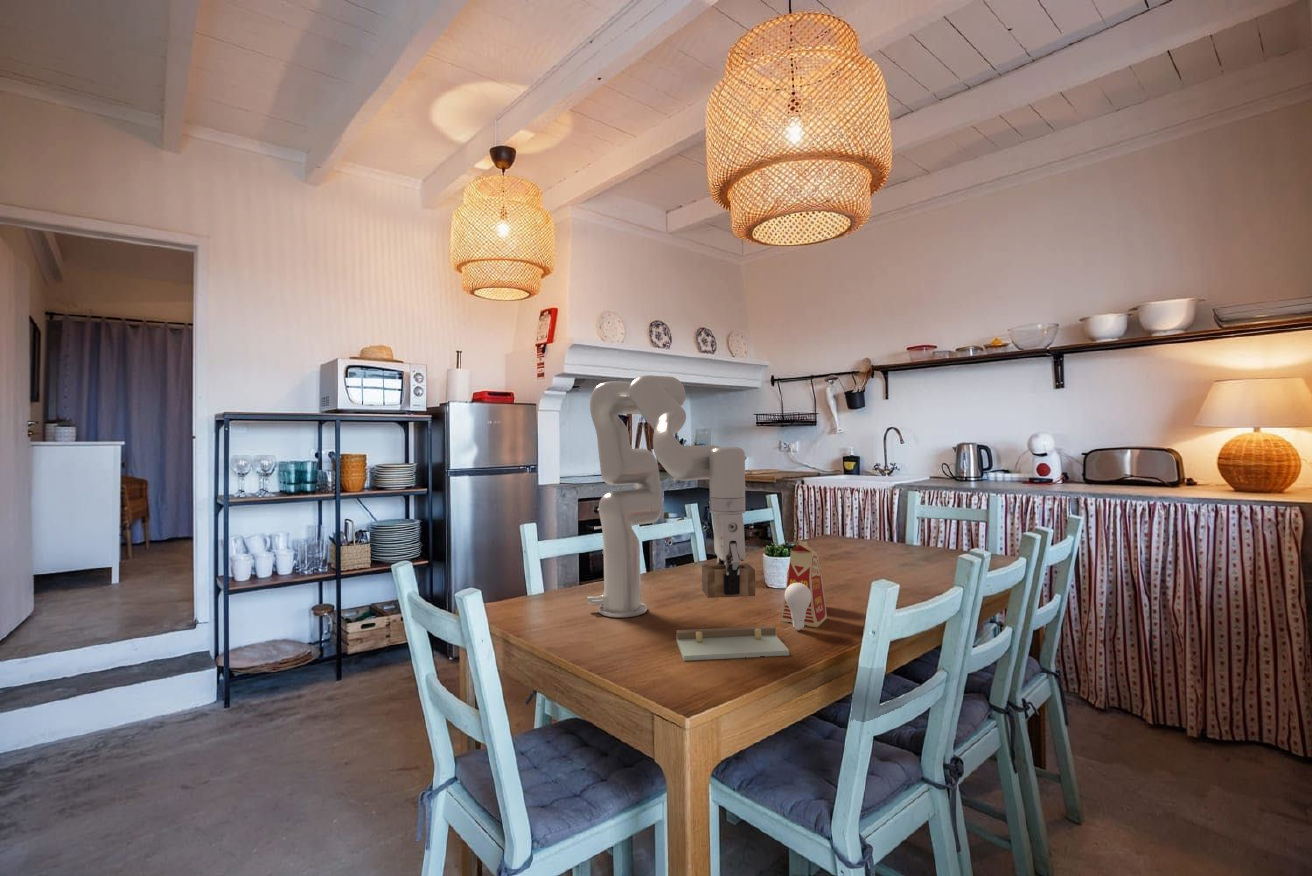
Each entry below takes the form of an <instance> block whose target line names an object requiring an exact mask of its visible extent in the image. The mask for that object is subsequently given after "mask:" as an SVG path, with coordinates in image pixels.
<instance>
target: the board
mask: <svg viewBox="0 0 1312 876" xmlns="http://www.w3.org/2000/svg"><path fill="white" fill-rule="evenodd" d="M675 633H676V638H675V639H676V643H677V644H676V645H677V646H678V649H679V651H680V655H681V657H682V660H683V662H686V661H701V660H702V661H704V660H721V659H722V660H725V659H727V660H728V659H741V658H744V659H745V657H746V658H760V656H765V657H779V656H781V657H783V656H790V650H789V648H787V646H786V645H785V644H784V643H783V641H781V639H780V638H779V637H778V636H777V635H776V634H777V633H776V627H775V626H774V625H762V626H761V625H760V626H759V625H757V626H739V627H734V626H733V627H720V628H713V627H712V628H698V629H696V628H695V629H692V628H691V629H677V630H676V632H675Z"/></svg>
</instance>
